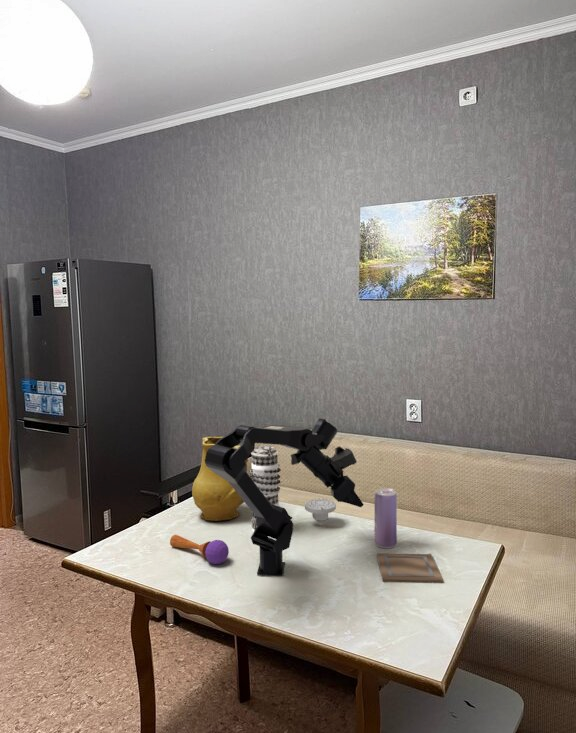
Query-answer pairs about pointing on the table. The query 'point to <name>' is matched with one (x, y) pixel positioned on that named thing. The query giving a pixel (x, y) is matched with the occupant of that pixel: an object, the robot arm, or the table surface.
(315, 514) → the showerhead
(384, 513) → the beverage can
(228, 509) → the pitcher
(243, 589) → the table surface
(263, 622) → the table surface
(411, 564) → the plate
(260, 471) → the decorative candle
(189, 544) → the purple ball maraca
